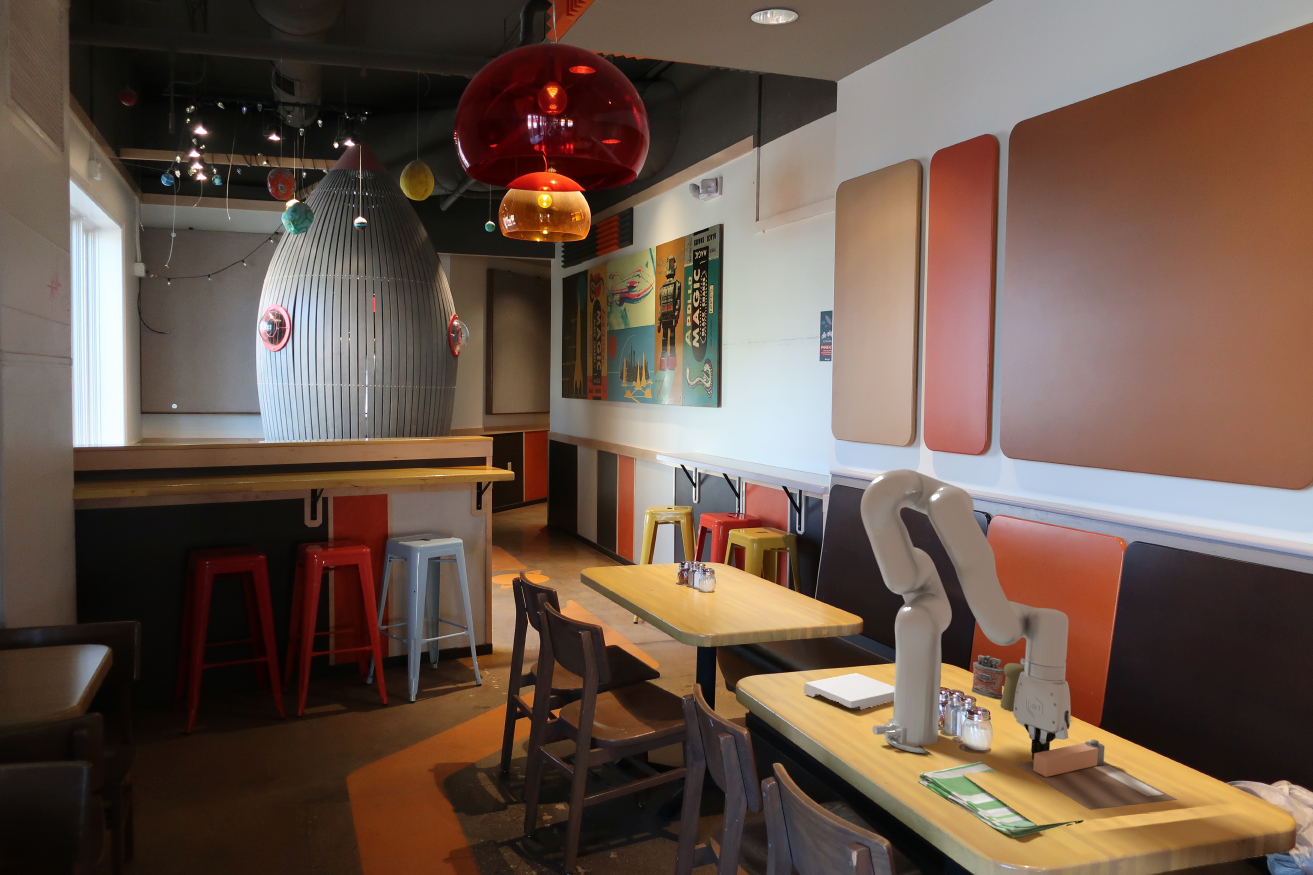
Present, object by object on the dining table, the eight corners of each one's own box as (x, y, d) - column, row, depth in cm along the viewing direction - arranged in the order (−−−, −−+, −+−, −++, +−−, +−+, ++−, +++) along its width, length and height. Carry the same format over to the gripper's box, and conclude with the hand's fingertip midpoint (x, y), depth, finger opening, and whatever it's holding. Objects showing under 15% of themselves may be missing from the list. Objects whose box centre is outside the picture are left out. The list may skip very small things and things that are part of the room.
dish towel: (1011, 842, 143) (1012, 827, 143) (914, 785, 164) (915, 771, 164) (1083, 824, 150) (1084, 809, 150) (982, 771, 171) (983, 758, 171)
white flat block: (855, 685, 225) (803, 695, 213) (856, 672, 225) (804, 682, 213) (902, 702, 213) (849, 715, 201) (903, 689, 213) (850, 701, 201)
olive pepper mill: (1029, 713, 206) (1031, 668, 205) (1002, 710, 207) (1005, 666, 206) (1023, 705, 212) (1025, 661, 211) (998, 702, 213) (1000, 659, 212)
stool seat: (1089, 817, 152) (1090, 808, 152) (1013, 770, 171) (1014, 762, 171) (1176, 806, 158) (1177, 797, 158) (1093, 762, 177) (1094, 754, 177)
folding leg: (1091, 756, 175) (1092, 736, 175) (1107, 763, 172) (1108, 742, 172) (1032, 769, 168) (1033, 748, 167) (1047, 777, 164) (1048, 755, 164)
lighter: (969, 691, 221) (971, 653, 220) (975, 688, 223) (977, 651, 223) (998, 700, 215) (1000, 661, 214) (1005, 697, 217) (1007, 659, 216)
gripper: (1000, 662, 175) (996, 749, 175) (1069, 684, 162) (1063, 777, 163) (1022, 658, 179) (1017, 743, 180) (1091, 678, 166) (1085, 769, 167)
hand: (1039, 759), depth 171 cm, fingers closed
